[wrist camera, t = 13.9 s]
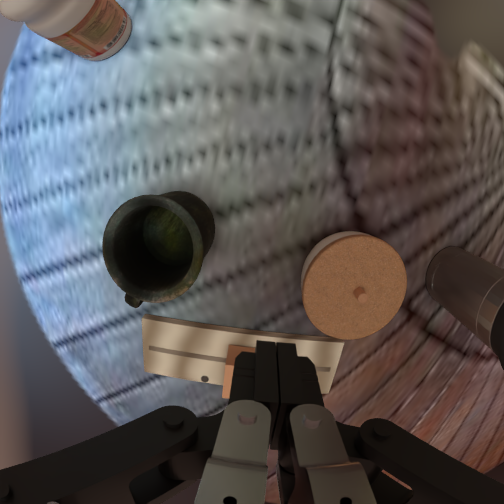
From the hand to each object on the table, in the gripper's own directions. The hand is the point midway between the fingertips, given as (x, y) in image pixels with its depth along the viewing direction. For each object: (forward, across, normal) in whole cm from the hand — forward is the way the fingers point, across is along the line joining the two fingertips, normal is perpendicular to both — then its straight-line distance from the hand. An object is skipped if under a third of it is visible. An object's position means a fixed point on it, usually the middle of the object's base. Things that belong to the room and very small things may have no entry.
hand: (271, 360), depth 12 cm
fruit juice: (+30, +27, -27) cm, 49 cm away
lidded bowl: (+30, -11, +5) cm, 33 cm away
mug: (+30, +12, +3) cm, 33 cm away
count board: (+30, +2, +20) cm, 36 cm away
